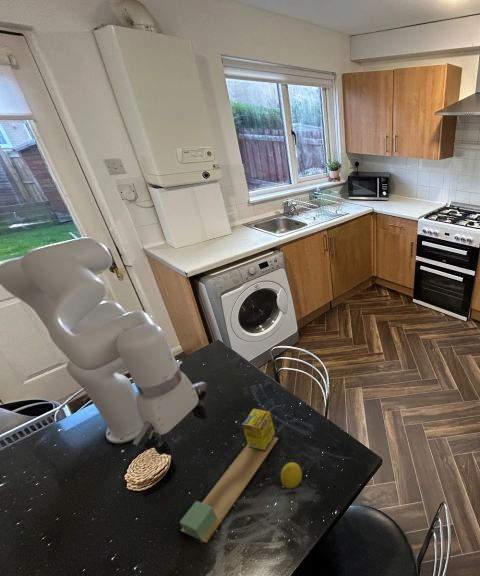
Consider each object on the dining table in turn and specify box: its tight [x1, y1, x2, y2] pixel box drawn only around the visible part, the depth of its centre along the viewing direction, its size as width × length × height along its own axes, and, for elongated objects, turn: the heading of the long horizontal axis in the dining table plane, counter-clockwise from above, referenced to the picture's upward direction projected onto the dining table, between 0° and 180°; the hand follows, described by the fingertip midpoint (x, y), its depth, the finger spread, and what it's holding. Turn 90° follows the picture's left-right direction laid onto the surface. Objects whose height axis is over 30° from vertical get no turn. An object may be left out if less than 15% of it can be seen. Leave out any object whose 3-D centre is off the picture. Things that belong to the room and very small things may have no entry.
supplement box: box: [241, 408, 276, 451], centre depth 94 cm, size 6×6×11 cm
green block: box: [179, 500, 217, 541], centre depth 76 cm, size 5×5×5 cm
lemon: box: [280, 461, 303, 489], centre depth 84 cm, size 6×6×8 cm
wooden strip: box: [180, 436, 280, 544], centre depth 87 cm, size 8×29×1 cm, turn 162°
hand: (184, 433), depth 72 cm, fingers open, 9 cm apart
